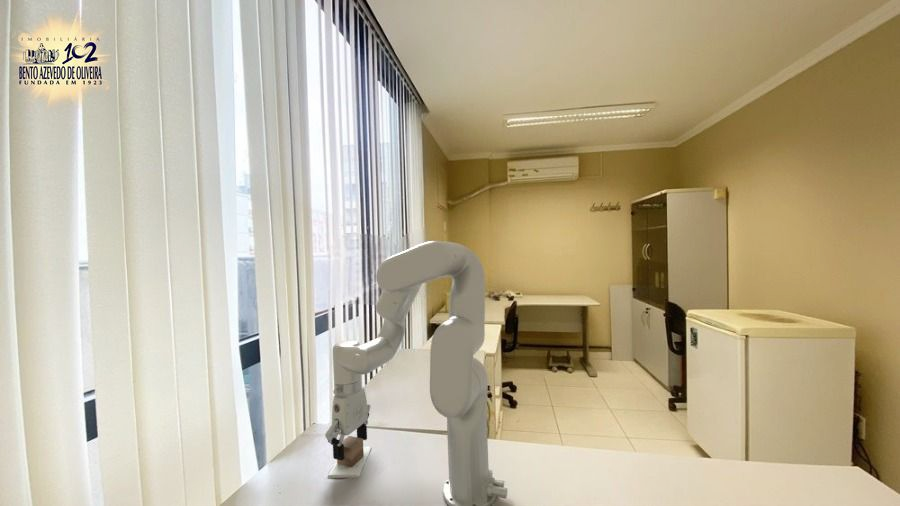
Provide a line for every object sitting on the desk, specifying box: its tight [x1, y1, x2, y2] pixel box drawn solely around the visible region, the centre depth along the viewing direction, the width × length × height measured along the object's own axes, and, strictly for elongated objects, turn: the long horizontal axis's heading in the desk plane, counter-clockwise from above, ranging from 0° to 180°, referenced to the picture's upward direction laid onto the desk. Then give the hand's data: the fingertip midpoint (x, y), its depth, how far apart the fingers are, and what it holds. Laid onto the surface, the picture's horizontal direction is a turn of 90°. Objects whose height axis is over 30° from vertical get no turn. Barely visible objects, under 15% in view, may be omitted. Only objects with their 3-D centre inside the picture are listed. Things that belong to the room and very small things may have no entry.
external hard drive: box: [327, 445, 373, 479], centre depth 88 cm, size 2×8×12 cm
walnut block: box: [336, 435, 364, 467], centre depth 88 cm, size 5×5×5 cm
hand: (351, 448), depth 88 cm, fingers open, 9 cm apart
